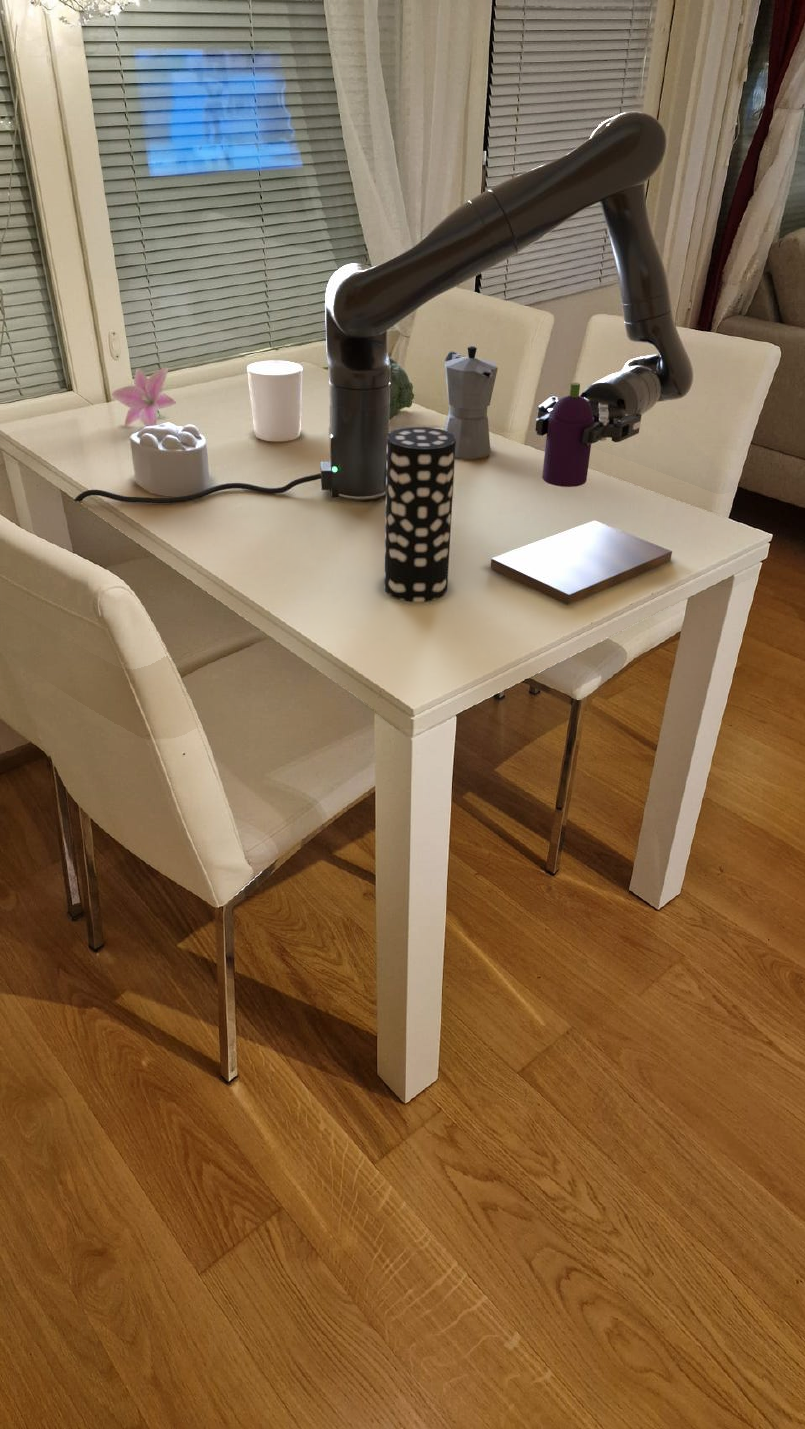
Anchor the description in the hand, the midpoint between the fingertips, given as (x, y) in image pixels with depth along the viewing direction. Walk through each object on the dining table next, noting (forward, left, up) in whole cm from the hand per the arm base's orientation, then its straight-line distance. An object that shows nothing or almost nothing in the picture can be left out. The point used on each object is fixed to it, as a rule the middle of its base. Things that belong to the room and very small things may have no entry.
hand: (562, 432), depth 128 cm
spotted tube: (-20, -8, -18) cm, 28 cm away
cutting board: (+4, -2, -18) cm, 18 cm away
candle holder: (-38, +56, -18) cm, 70 cm away
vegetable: (-18, +66, -18) cm, 70 cm away
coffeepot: (-5, +47, -18) cm, 50 cm away
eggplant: (+2, +2, -7) cm, 7 cm away
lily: (-62, +63, -18) cm, 90 cm away
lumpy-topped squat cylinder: (-54, +31, -18) cm, 65 cm away
